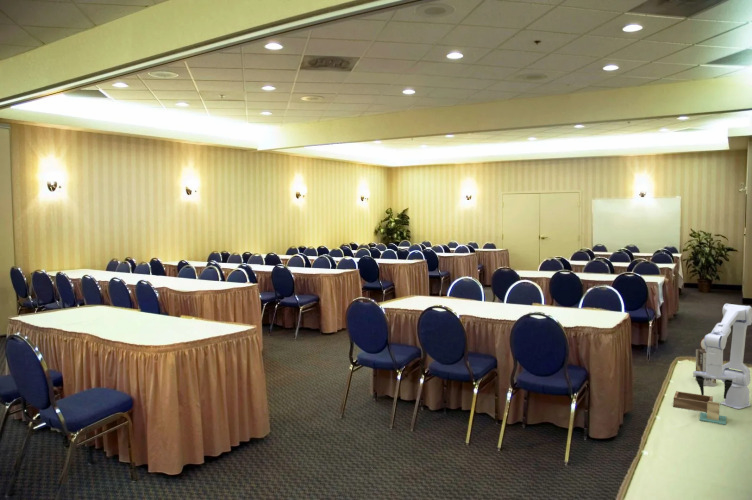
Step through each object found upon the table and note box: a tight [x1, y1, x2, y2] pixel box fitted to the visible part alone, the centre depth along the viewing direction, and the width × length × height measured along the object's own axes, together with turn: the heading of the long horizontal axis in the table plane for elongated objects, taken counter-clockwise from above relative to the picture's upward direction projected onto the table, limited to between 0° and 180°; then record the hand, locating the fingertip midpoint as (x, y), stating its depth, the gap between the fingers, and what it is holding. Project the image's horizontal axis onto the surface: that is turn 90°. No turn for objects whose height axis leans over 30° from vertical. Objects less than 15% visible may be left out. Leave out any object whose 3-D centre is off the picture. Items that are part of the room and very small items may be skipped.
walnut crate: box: [672, 390, 714, 413], centre depth 236 cm, size 10×14×4 cm
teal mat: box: [699, 411, 727, 426], centre depth 222 cm, size 9×9×1 cm
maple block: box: [706, 401, 720, 420], centre depth 221 cm, size 4×4×6 cm
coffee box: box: [695, 348, 717, 387], centre depth 265 cm, size 9×6×16 cm
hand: (713, 396), depth 221 cm, fingers open, 7 cm apart
